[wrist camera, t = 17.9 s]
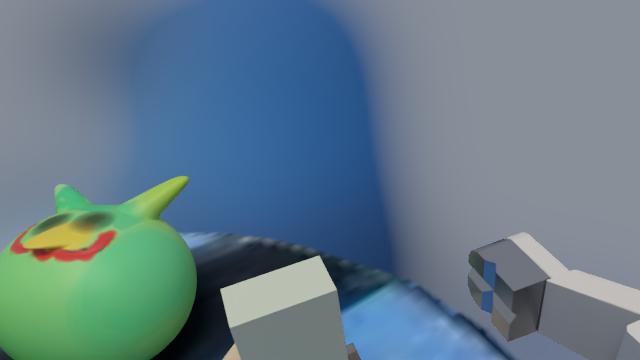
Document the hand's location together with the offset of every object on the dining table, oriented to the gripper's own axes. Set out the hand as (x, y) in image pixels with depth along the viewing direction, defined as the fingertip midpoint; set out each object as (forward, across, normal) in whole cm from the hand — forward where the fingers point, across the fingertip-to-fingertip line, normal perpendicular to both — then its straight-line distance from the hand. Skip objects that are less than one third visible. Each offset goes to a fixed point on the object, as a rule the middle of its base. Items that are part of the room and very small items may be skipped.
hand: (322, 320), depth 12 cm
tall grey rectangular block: (+12, 0, +27) cm, 29 cm away
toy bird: (+30, +14, +28) cm, 44 cm away
